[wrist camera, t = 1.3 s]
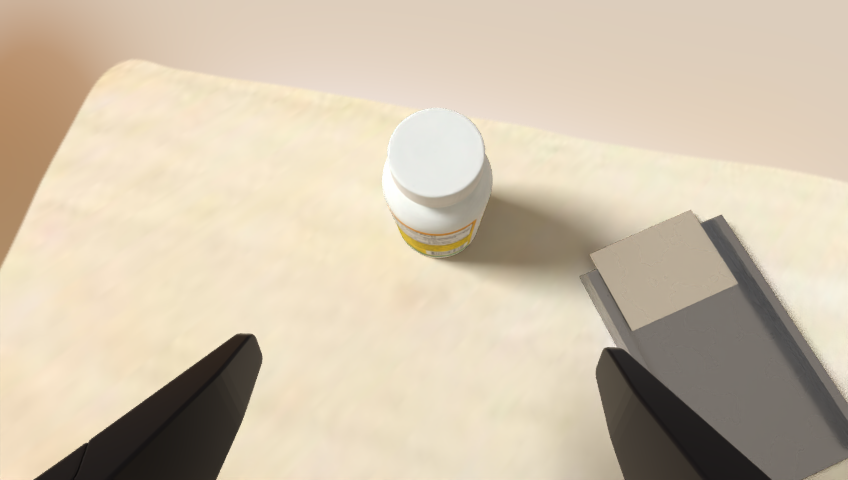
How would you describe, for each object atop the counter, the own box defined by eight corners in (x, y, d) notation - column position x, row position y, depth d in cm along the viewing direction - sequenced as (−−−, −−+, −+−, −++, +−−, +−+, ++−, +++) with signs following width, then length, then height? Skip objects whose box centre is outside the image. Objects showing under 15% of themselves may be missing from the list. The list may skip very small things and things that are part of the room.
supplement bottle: (447, 275, 23) (449, 242, 14) (382, 227, 24) (342, 166, 15) (495, 210, 24) (528, 136, 14) (430, 166, 25) (422, 71, 15)
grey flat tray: (854, 446, 20) (880, 454, 18) (708, 516, 19) (724, 528, 18) (698, 206, 23) (712, 200, 22) (571, 262, 23) (578, 258, 21)
